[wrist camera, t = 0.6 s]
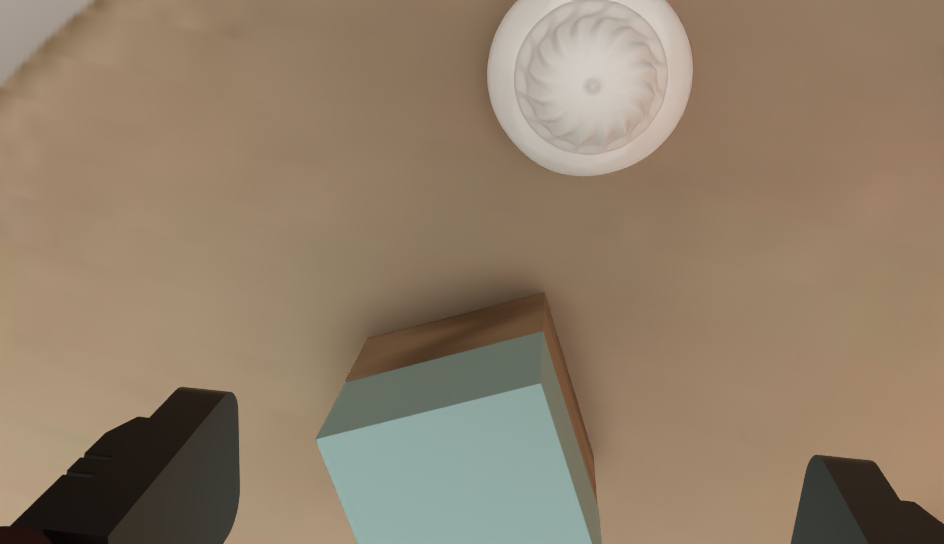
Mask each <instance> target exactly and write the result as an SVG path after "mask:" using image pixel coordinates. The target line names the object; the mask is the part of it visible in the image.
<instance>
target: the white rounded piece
mask: <svg viewBox="0 0 944 544" xmlns="http://www.w3.org/2000/svg"><path fill="white" fill-rule="evenodd" d="M692 76H693V61H692V53H691V48H690V43H689V40H688V37H687V34H686V32H685V29H684V27H683V25H682V23H681V21H680V19H679V18H678V16H677V14H676V13H675V11H674V10H673V9H672V7H671V6H670V5H669V3H668V2H667V1H666V0H517V1H516V2H515V3H514V4H513V6H512V7H511V8H510V9H509V11H508V12H507V13H506V15H505V16H504V18H503V20H502V21H501V23H500V26H499V27H498V29H497V31H496V34H495V36H494V39H493V42H492V45H491V48H490V53H489V59H488V65H487V84H488V91H489V97H490V101H491V104H492V107H493V110H494V112H495V115H496V117H497V119H498V121H499V123H500V125H501V126H502V128H503V130H504V131H505V133H506V134H507V135H508V137H509V138H510V139H511V141H512V142H513V143H514V144H515V145H516V146H517V147H518V149H519V150H520V151H521V152H522V153H524V154H525V155H526V156H527V157H528V158H530V159H531V160H532V161H534V162H535V163H537V164H538V165H540V166H542V167H544V168H546V169H548V170H551V171H553V172H556V173H560V174H565V175H571V176H595V175H602V174H607V173H611V172H615V171H619V170H622V169H624V168H627V167H629V166H631V165H633V164H635V163H637V162H639V161H641V160H642V159H644V158H645V157H647V156H648V155H650V154H651V153H652V152H654V151H655V150H656V149H657V148H658V147H659V146H660V145H661V144H662V143H663V142H664V141H665V140H666V139H667V138H668V137H669V135H670V134H671V133H672V131H673V130H674V129H675V127H676V126H677V124H678V122H679V120H680V119H681V117H682V115H683V113H684V110H685V108H686V105H687V102H688V99H689V95H690V91H691V85H692Z"/></svg>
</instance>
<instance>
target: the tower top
mask: <svg viewBox="0 0 944 544" xmlns="http://www.w3.org/2000/svg"><path fill="white" fill-rule="evenodd" d="M315 440H316V442H317V445H318V447H319V450H320V452H321V455H322V457H323V460H324V462H325V464H326V467H327V469H328V472H329V474H330V477H331V479H332V482H333V484H334V487H335V489H336V492H337V494H338V497H339V499H340V502H341V504H342V506H343V509H344V511H345V514H346V516H347V519H348V521H349V524H350V526H351V529H352V531H353V534H354V536H355V539H356V541H357V544H602V542H601V530H600V518H599V510H598V506H597V503H596V500H595V497H594V494H593V490H592V487H591V484H590V481H589V478H588V474H587V471H586V468H585V465H584V462H583V458H582V455H581V452H580V449H579V446H578V442H577V439H576V436H575V433H574V430H573V426H572V423H571V420H570V417H569V414H568V410H567V407H566V404H565V401H564V398H563V394H562V391H561V388H560V385H559V382H558V378H557V375H556V372H555V369H554V366H553V362H552V359H551V356H550V353H549V350H548V346H547V343H546V340H545V337H544V334H543V331H541V332H538V333H534V334H530V335H526V336H522V337H518V338H515V339H511V340H507V341H503V342H499V343H495V344H491V345H488V346H484V347H480V348H476V349H472V350H468V351H464V352H461V353H457V354H453V355H449V356H445V357H441V358H438V359H434V360H430V361H426V362H422V363H418V364H414V365H411V366H407V367H403V368H399V369H395V370H391V371H388V372H384V373H380V374H376V375H372V376H368V377H364V378H361V379H357V380H353V381H349V382H345V384H344V386H343V388H342V390H341V392H340V394H339V396H338V398H337V399H336V401H335V403H334V405H333V407H332V409H331V411H330V413H329V415H328V416H327V418H326V420H325V422H324V424H323V426H322V428H321V430H320V432H319V433H318V435H317V437H316V439H315Z"/></svg>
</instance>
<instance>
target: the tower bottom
mask: <svg viewBox="0 0 944 544" xmlns="http://www.w3.org/2000/svg"><path fill="white" fill-rule="evenodd" d="M541 331H543V334H544V337H545V340H546V343H547V346H548V350H549V353H550V356H551V359H552V362H553V366H554V369H555V372H556V375H557V378H558V382H559V385H560V388H561V391H562V394H563V398H564V401H565V404H566V407H567V410H568V414H569V417H570V420H571V423H572V426H573V430H574V433H575V436H576V439H577V442H578V446H579V449H580V452H581V455H582V458H583V462H584V465H585V468H586V471H587V474H588V478H589V481H590V484H591V487H592V490H593V494H594V497H595V500H596V503H597V495H596V483H595V470H594V458H593V453H592V450H591V447H590V443H589V440H588V437H587V433H586V430H585V427H584V423H583V420H582V417H581V413H580V410H579V406H578V403H577V400H576V396H575V393H574V390H573V386H572V383H571V380H570V376H569V373H568V370H567V366H566V363H565V359H564V356H563V353H562V349H561V346H560V343H559V339H558V336H557V333H556V329H555V326H554V323H553V319H552V316H551V313H550V309H549V306H548V302H547V299H546V296H545V293H542V294H538V295H535V296H531V297H527V298H523V299H519V300H515V301H511V302H508V303H504V304H500V305H496V306H492V307H488V308H484V309H480V310H477V311H473V312H469V313H465V314H461V315H457V316H453V317H450V318H446V319H442V320H438V321H434V322H430V323H426V324H422V325H419V326H415V327H411V328H407V329H403V330H399V331H395V332H391V333H388V334H384V335H380V336H376V337H372V338H368V339H367V341H366V343H365V345H364V347H363V349H362V350H361V352H360V354H359V356H358V358H357V360H356V362H355V364H354V365H353V367H352V369H351V371H350V373H349V375H348V377H347V379H346V380H345V381H346V382H349V381H353V380H357V379H361V378H364V377H368V376H372V375H376V374H380V373H384V372H388V371H391V370H395V369H399V368H403V367H407V366H411V365H414V364H418V363H422V362H426V361H430V360H434V359H438V358H441V357H445V356H449V355H453V354H457V353H461V352H464V351H468V350H472V349H476V348H480V347H484V346H488V345H491V344H495V343H499V342H503V341H507V340H511V339H515V338H518V337H522V336H526V335H530V334H534V333H538V332H541Z"/></svg>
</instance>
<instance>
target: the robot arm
mask: <svg viewBox="0 0 944 544" xmlns="http://www.w3.org/2000/svg"><path fill="white" fill-rule="evenodd" d="M239 494H240V474H239V426H238V404H237V399H236V397H235V395H234V394H233V393H232V392H225V391H216V390H206V389H196V388H187V387H180V388H178V389H177V390H176V391H175V392H174V393H173V394H172V395H171V396H170V397H169V398H168V399H167V400H166V401H165V402H164V403H163V404H162V405H161V406H160V407H159V408H158V409H157V410H156V411H155V412H154V413H153V415H152V416H151V417H150V418H145V417H136V418H134V419H132V420H130V421H128V422H126V423H124V424H122V425H120V426H118V427H116V428H114V429H112V430H110V431H108V432H106V433H105V434H104V435H103V436H102V437H101V438H100V439H99V440H98V441H97V442H96V443H95V444H94V445H93V446H92V447H91V448H90V449H89V450H87V451H86V452H85V455H84V458H81V457H80V458H79V459H78V460H77V461H76V462H75V463H74V464H73V465H72V466H71V467H70V468H69V469H68V470H67V474H66V475H62V476H61V477H60V478H59V479H58V480H57V481H56V482H55V483H54V484H53V485H52V486H51V487H50V488H49V489H48V490H46V491H45V492H44V493H43V494H42V495H41V496H40V497H39V498H38V499H37V500H36V501H35V502H34V503H33V504H32V505H31V506H30V507H29V508H28V509H27V510H26V511H25V512H24V513H23V514H22V515H21V516H20V517H19V518H18V519H17V520H16V521H15V522H14V523H13V524H12V525H11V526H0V544H223V543H224V542H225V540H226V538H227V537H228V535H229V533H230V531H231V529H232V526H233V524H234V521H235V517H236V513H237V509H238V503H239ZM791 544H944V524H943V523H941V522H940V521H939V520H937V519H936V518H935V517H933V516H932V515H931V514H929V513H928V512H927V511H926V510H924V509H923V508H922V507H920V506H919V505H918V504H916V503H915V502H910V501H901V500H900V499H899V498H898V496H897V495H896V493H895V492H894V490H893V489H892V487H891V486H890V484H889V482H888V481H887V479H886V478H885V476H884V475H883V473H882V472H881V470H880V469H879V467H878V466H877V464H876V463H875V462H873V461H870V460H861V459H851V458H842V457H832V456H823V455H814V456H813V457H812V458H811V460H810V462H809V464H808V466H807V470H806V474H805V478H804V483H803V488H802V493H801V497H800V502H799V507H798V512H797V517H796V521H795V526H794V531H793V536H792V540H791Z"/></svg>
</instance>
